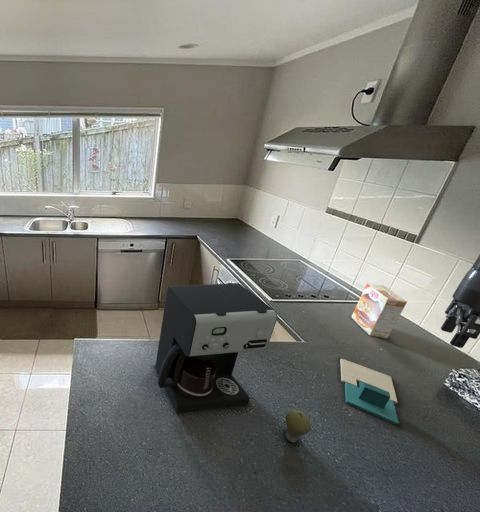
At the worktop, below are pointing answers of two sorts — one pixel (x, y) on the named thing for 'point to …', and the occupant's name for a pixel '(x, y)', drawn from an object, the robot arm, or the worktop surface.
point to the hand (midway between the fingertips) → (450, 338)
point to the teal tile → (368, 406)
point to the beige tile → (366, 377)
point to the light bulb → (296, 425)
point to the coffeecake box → (378, 310)
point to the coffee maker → (209, 343)
